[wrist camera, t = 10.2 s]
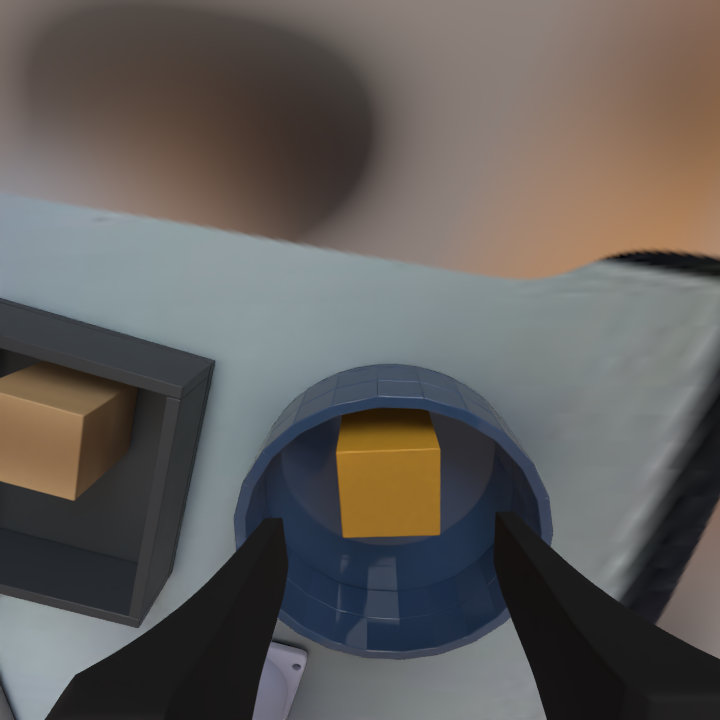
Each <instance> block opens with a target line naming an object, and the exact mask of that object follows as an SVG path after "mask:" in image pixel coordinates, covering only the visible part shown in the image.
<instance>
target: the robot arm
mask: <svg viewBox="0 0 720 720" xmlns="http://www.w3.org/2000/svg"><path fill="white" fill-rule="evenodd" d="M493 563H494V567H495V570H496V574H497V578H498V582H499V585H500V589H501V593H502V595H503V598H504V601H505V603H506V606H507V608H508V611H509V613H510V616H511V618H512V621H513V623H514V626H515V629H516V631H517V634H518V636H519V639H520V641H521V644H522V646H523V649H524V651H525V654H526V656H527V659H528V661H529V664H530V667H531V670H532V672H533V675H534V678H535V681H536V684H537V688H538V691H539V694H540V698H541V701H542V705H543V708H544V711H545V715H546V718H547V720H720V659H718V658H716V657H714V656H712V655H710V654H708V653H706V652H704V651H702V650H699V649H697V648H695V647H693V646H691V645H690V644H688V643H686V642H684V641H682V640H681V639H679V638H677V637H675V636H673V635H671V634H669V633H668V632H666V631H664V630H662V629H661V628H659V627H657V626H656V625H654V624H652V623H650V622H649V621H647V620H646V619H644V618H642V617H641V616H639V615H638V614H636V613H635V612H633V611H631V610H630V609H628V608H627V607H625V606H624V605H622V604H621V603H619V602H618V601H616V600H615V599H614V598H612V597H611V596H609V595H608V594H607V593H605V592H604V591H603V590H601V589H600V588H598V587H597V586H596V585H594V584H593V583H592V582H590V581H589V580H588V579H587V578H585V577H584V576H583V575H582V574H581V573H579V572H578V571H577V570H576V569H575V568H573V567H572V566H571V565H570V564H569V563H567V562H566V561H565V560H564V559H563V558H562V557H561V556H560V555H559V554H558V553H556V552H555V551H554V550H553V549H552V548H551V547H550V546H549V545H548V544H547V543H546V542H545V541H544V540H543V539H542V538H541V537H540V536H539V535H538V534H537V533H535V532H534V531H533V530H532V529H531V528H530V527H529V526H528V525H527V523H526V522H525V521H524V520H523V519H522V518H521V517H520V516H518V515H517V514H516V513H515V512H514V511H509V512H496V514H495V535H494V556H493ZM288 568H289V564H288V556H287V549H286V541H285V534H284V526H283V519H282V518H264V519H263V520H262V522H261V523H260V524H259V525H258V526H257V527H256V529H255V530H254V531H253V532H252V533H251V535H250V536H249V537H248V538H247V539H246V541H245V542H244V543H243V544H242V545H241V547H240V548H239V549H238V550H237V551H236V552H235V553H234V554H233V556H232V557H231V558H230V559H229V560H228V561H227V562H226V563H225V564H224V566H223V567H222V568H221V569H220V570H219V571H218V572H217V573H216V574H215V575H214V576H213V577H212V578H211V579H210V580H209V581H208V582H207V583H206V584H205V585H204V586H203V587H202V588H201V589H200V590H199V591H198V592H196V593H195V594H194V595H193V596H192V597H191V598H190V599H188V600H187V601H186V602H185V603H184V604H183V605H181V606H180V607H179V608H178V609H176V610H175V611H174V612H173V613H171V614H170V615H169V616H167V617H166V618H165V619H163V620H162V621H161V622H159V623H158V624H157V625H156V626H154V627H153V628H151V629H150V630H149V631H147V632H146V633H144V634H143V635H141V636H140V637H138V638H137V639H136V640H134V641H132V642H131V643H129V644H128V645H126V646H125V647H123V648H122V649H120V650H118V651H117V652H115V653H113V654H112V655H110V656H108V657H107V658H105V659H103V660H101V661H100V662H98V663H96V664H94V665H93V666H91V667H89V668H87V669H86V670H84V671H82V672H80V673H78V674H76V675H75V676H74V678H73V679H72V680H71V682H70V683H69V684H68V686H67V687H66V689H65V690H64V691H63V693H62V694H61V696H60V697H59V699H58V700H57V702H56V703H55V705H54V706H53V708H52V709H51V711H50V713H49V714H48V716H47V717H46V719H45V720H286V719H287V716H288V713H289V710H290V707H291V705H292V702H293V699H294V696H295V694H296V691H297V688H298V685H299V683H300V680H301V677H302V674H303V671H304V669H305V666H306V663H307V658H308V654H307V652H305V651H304V650H302V649H299V648H295V647H291V646H287V645H283V644H279V643H275V642H271V639H272V636H273V632H274V629H275V625H276V622H277V618H278V615H279V611H280V608H281V604H282V601H283V597H284V592H285V586H286V580H287V574H288Z"/></svg>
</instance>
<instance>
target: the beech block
mask: <svg viewBox="0 0 720 720" xmlns="http://www.w3.org/2000/svg"><path fill="white" fill-rule="evenodd" d="M137 391H138V387H135V386H131V385H128V384H124V383H121V382H117V381H114V380H110V379H107V378H103V377H100V376H96V375H93V374H89V373H86V372H82V371H79V370H75V369H72V368H68V367H65V366H61V365H58V364H54V363H51V362H47V361H42V362H40V363H37V364H34V365H32V366H29V367H27V368H24V369H22V370H19V371H17V372H14V373H12V374H9V375H7V376H4V377H2V378H0V481H1V482H5V483H9V484H13V485H16V486H20V487H24V488H28V489H31V490H35V491H39V492H43V493H46V494H50V495H54V496H58V497H62V498H65V499H69V500H76V499H77V498H78V497H79V496H80V495H81V494H82V493H83V492H84V491H86V490H87V489H88V488H89V487H90V486H91V485H92V484H93V483H94V482H96V481H97V480H98V479H99V478H100V477H101V476H102V475H103V474H104V473H105V472H107V471H108V470H109V469H110V468H111V467H112V466H113V465H114V464H115V463H116V462H118V461H119V460H120V459H121V458H122V457H123V456H124V455H125V454H126V453H128V451H129V445H130V438H131V431H132V425H133V418H134V411H135V405H136V398H137Z"/></svg>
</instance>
